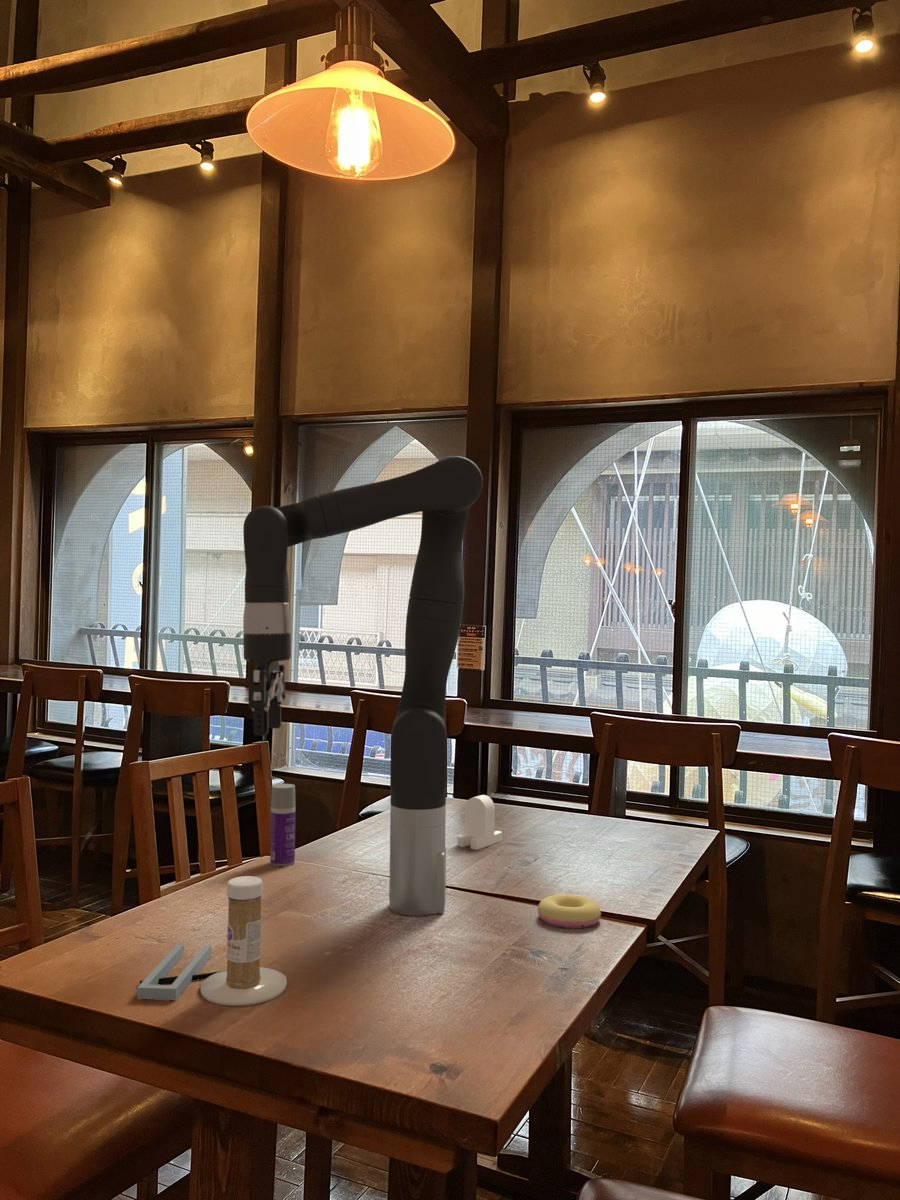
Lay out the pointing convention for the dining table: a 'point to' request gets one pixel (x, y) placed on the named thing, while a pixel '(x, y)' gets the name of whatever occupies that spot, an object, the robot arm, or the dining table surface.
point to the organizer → (479, 824)
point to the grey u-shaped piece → (168, 992)
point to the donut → (569, 911)
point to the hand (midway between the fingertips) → (267, 731)
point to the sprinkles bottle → (244, 931)
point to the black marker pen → (172, 979)
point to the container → (282, 825)
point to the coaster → (243, 989)
